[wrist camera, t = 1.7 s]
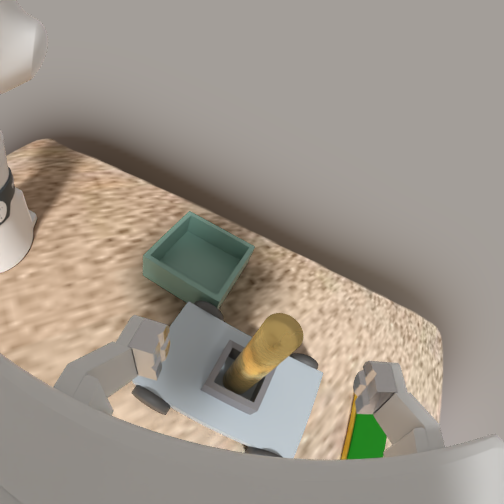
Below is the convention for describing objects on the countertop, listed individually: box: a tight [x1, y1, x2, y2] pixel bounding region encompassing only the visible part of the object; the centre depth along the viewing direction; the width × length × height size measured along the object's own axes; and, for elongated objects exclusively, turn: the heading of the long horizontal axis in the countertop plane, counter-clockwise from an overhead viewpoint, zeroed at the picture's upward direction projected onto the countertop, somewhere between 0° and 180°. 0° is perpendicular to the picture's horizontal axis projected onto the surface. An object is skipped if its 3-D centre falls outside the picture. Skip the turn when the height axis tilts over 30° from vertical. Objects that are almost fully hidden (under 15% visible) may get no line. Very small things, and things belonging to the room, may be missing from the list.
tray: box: [143, 211, 255, 309], centre depth 47 cm, size 14×14×5 cm
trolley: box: [132, 300, 323, 458], centre depth 33 cm, size 22×16×8 cm
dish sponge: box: [341, 394, 387, 460], centre depth 35 cm, size 7×14×2 cm, turn 160°
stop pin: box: [223, 313, 303, 394], centre depth 28 cm, size 4×4×15 cm
